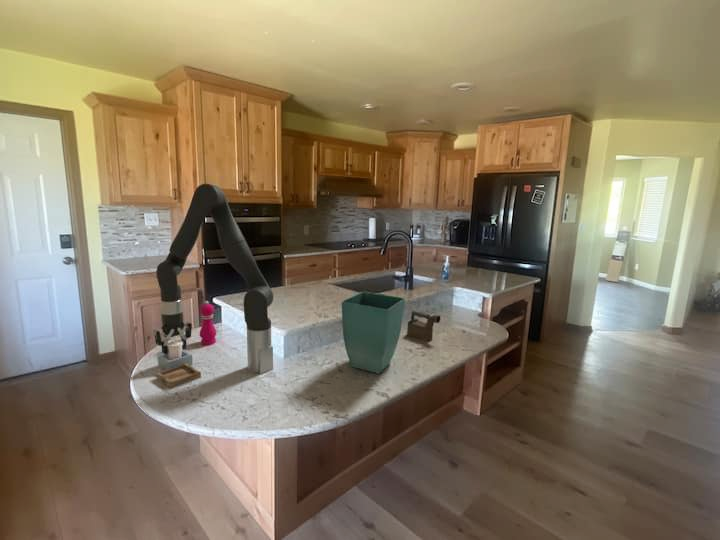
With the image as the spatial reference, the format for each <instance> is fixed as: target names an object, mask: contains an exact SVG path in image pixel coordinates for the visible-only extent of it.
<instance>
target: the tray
mask: <svg viewBox="0 0 720 540" xmlns="http://www.w3.org/2000/svg"><path fill="white" fill-rule="evenodd" d="M201 378H202V373H201V371H200V370H198V369H196V368H195V367H193V366H189V365H188V364H183V365H180V366H177V367H174V368H171V369H168V370H162V371H159V372H156V379H157V380H159V381H160V382H161V383H163V384H164V385H165V386H167V387H168V388H170V389H174V388H178V387H180V386H183V385H184V384H188V383H191V382H193V381H197V380H199V379H201Z"/></svg>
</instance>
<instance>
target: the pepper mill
mask: <svg viewBox="0 0 720 540" xmlns="http://www.w3.org/2000/svg"><path fill="white" fill-rule="evenodd" d="M199 312H200V314H201V319H202V325H201V328H200V330H199V337H200V338H201V340H200V344H201V345H203V346H211V345H214V344H215V343H217V339H216V336H217V334H218V333H217V330H216V327H215V326H214V322H213V318H214V314H213V313H215V307H214V305H212V304H211V303H210V301H208V300H205V301H204V304H202V305H201V306H200V308H199Z"/></svg>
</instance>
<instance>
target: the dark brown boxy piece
mask: <svg viewBox="0 0 720 540" xmlns="http://www.w3.org/2000/svg"><path fill="white" fill-rule="evenodd" d="M415 316H416V317H419V318H425V319H426V320H427V321H426V322H425V321H421V320H419V319H418V318H415ZM440 322H441V315H440V314H439V315H430V314H427V313H423V312H419V311H415V310H412V311H411V319H410V320H409V321H407V328H406V329H407V330H406V331H407V332H406V335H407V336H409V337H412V338H416V339H418V340H419V339H420V340H423V341H424V340H425V341H432V340H433V332H434V329H433V327H434V324H435V323H436V324H438V323H440Z"/></svg>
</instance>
